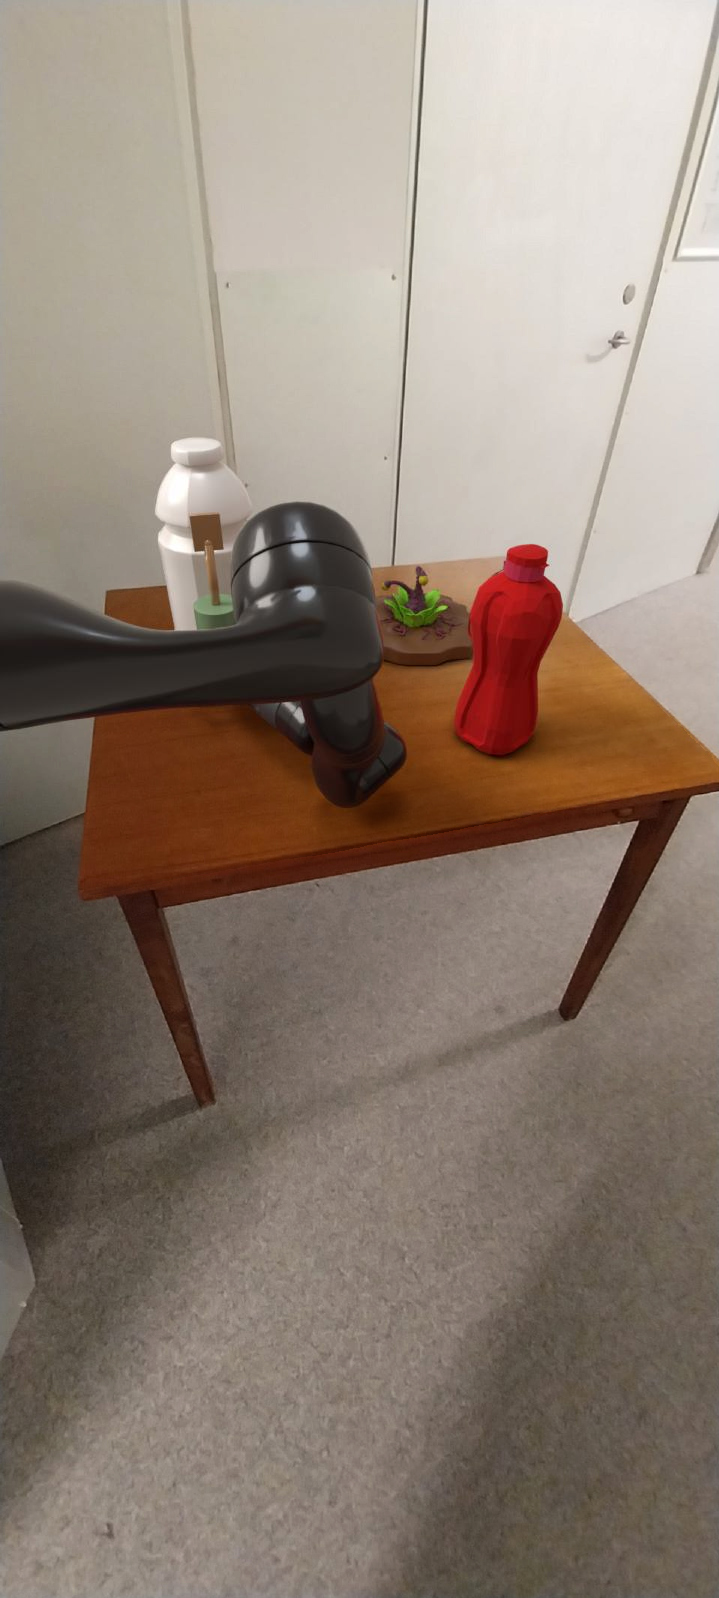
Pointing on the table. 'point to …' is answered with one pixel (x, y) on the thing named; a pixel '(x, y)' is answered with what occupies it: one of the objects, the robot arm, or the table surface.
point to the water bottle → (508, 652)
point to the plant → (422, 625)
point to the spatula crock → (210, 573)
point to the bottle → (182, 492)
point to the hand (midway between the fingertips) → (218, 639)
